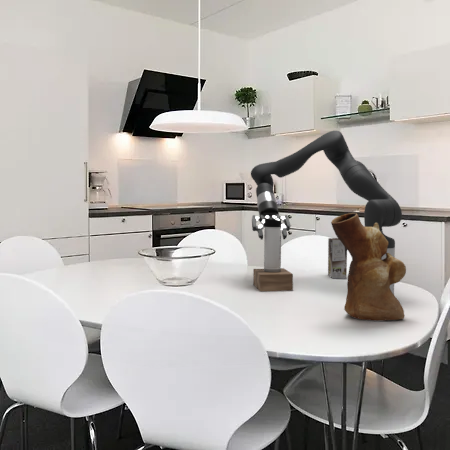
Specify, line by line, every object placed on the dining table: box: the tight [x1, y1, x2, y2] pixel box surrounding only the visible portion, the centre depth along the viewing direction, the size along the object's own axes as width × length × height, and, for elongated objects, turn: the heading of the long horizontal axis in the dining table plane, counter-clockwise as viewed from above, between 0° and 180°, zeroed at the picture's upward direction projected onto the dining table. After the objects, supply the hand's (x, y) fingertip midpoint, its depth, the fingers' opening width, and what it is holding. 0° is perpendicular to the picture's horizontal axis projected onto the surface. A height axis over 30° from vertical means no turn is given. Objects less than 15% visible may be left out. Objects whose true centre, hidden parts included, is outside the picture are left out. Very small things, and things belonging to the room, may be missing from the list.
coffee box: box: [327, 237, 348, 279], centre depth 217 cm, size 9×6×16 cm
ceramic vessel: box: [330, 212, 407, 322], centre depth 147 cm, size 16×22×30 cm
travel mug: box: [263, 218, 282, 272], centre depth 193 cm, size 6×7×20 cm
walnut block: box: [252, 267, 294, 292], centre depth 194 cm, size 14×12×6 cm
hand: (273, 238), depth 191 cm, fingers open, 8 cm apart
